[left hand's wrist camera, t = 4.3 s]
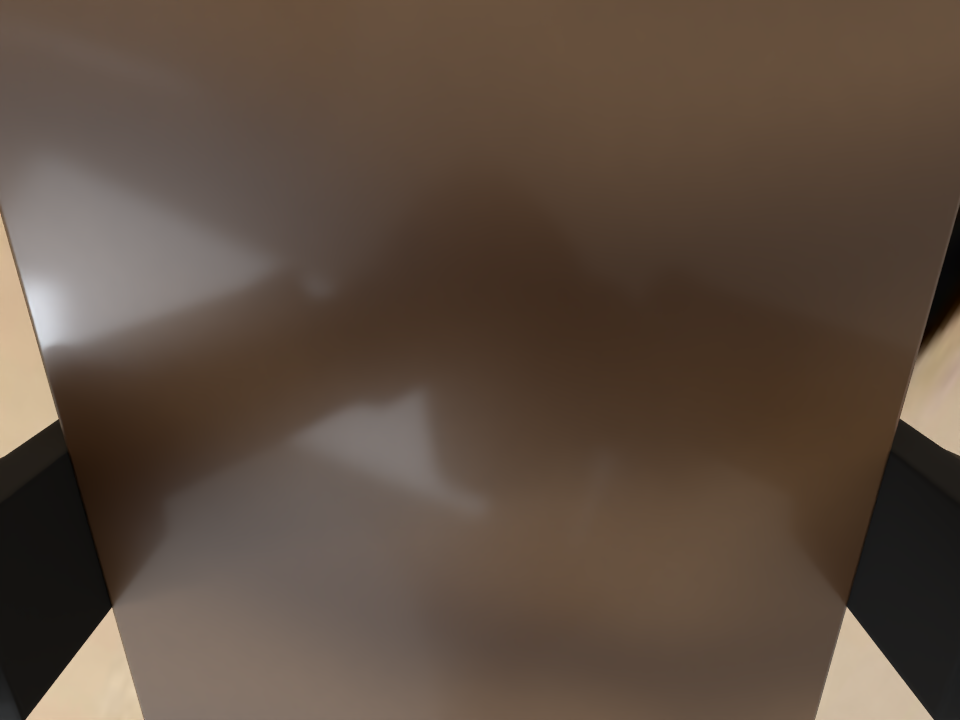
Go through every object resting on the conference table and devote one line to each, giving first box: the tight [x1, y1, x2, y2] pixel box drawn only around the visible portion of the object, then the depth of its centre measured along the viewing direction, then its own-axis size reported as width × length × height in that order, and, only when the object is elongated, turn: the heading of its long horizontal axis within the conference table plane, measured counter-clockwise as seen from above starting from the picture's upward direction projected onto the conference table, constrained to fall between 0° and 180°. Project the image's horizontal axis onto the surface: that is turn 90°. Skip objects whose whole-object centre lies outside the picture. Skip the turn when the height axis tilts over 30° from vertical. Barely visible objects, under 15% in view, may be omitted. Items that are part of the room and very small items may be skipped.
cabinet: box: [0, 0, 960, 720], centre depth 11 cm, size 19×11×10 cm, turn 0°
